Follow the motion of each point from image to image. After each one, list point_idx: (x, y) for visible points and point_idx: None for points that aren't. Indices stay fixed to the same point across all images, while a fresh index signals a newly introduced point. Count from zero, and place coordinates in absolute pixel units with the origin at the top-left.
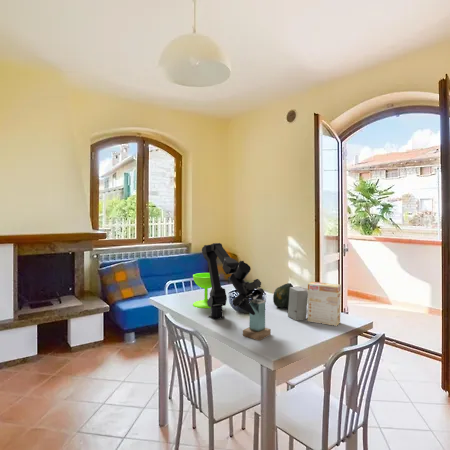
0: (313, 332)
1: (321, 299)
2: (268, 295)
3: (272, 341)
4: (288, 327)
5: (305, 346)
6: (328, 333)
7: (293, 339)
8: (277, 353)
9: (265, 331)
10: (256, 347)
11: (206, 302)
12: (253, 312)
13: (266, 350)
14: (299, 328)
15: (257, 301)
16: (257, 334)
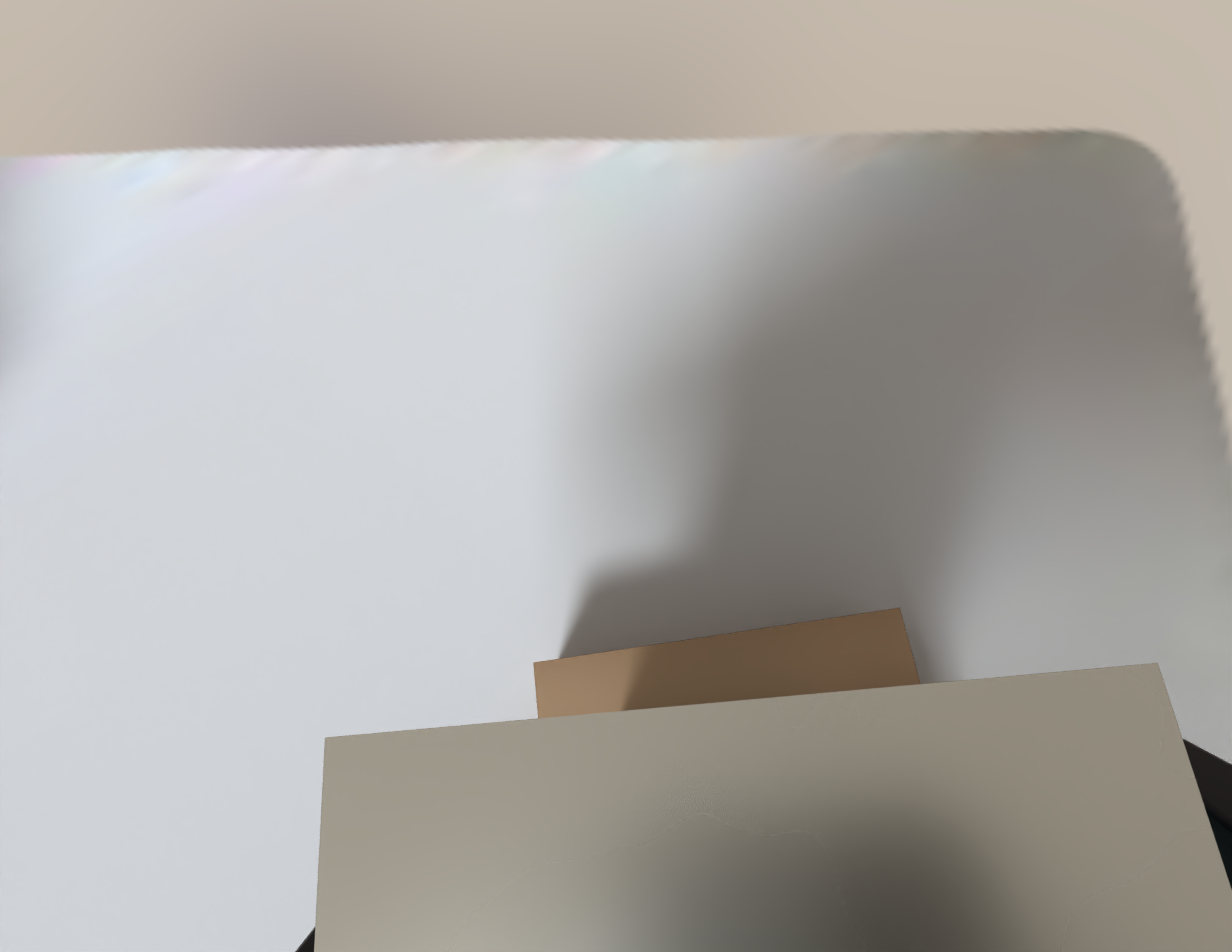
0: (112, 339)
1: None
2: None
3: (751, 474)
4: (100, 679)
5: (574, 156)
6: (55, 225)
7: (485, 348)
8: (991, 206)
9: (699, 644)
10: (1108, 475)
11: None
12: (1212, 770)
13: (1050, 331)
14: (59, 539)
15: (1054, 943)
16: (909, 661)
